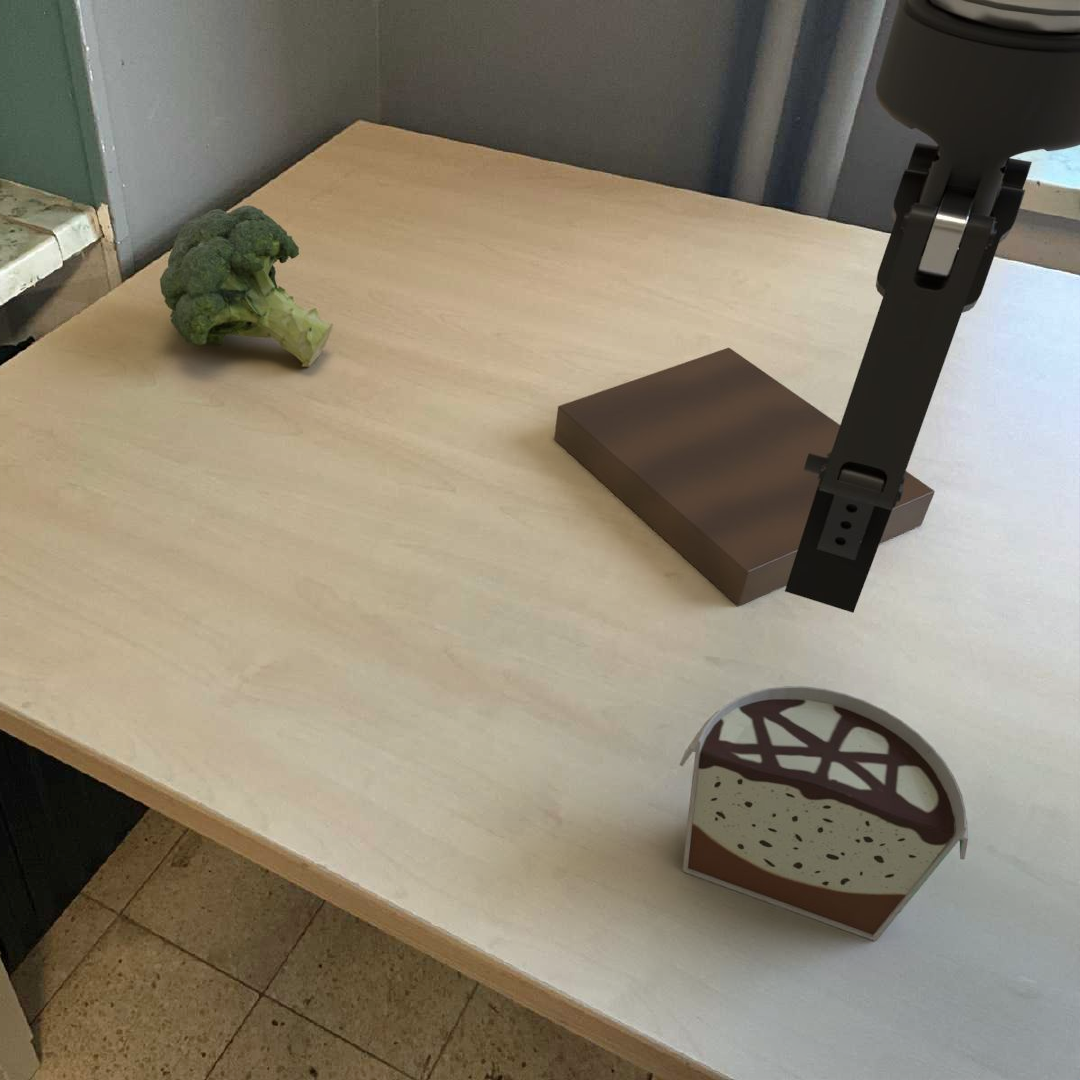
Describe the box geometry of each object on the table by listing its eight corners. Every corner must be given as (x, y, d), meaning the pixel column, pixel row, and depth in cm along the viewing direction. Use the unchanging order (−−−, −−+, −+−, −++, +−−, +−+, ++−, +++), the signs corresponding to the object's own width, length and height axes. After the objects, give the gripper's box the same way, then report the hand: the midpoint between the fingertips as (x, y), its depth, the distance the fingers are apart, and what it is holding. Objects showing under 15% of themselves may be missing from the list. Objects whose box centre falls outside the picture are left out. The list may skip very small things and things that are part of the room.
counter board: (921, 525, 78) (935, 491, 76) (738, 606, 73) (747, 572, 71) (721, 379, 91) (729, 346, 89) (553, 439, 86) (557, 405, 84)
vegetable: (262, 399, 87) (109, 276, 87) (283, 421, 99) (150, 313, 100) (364, 272, 86) (210, 150, 87) (372, 310, 99) (238, 203, 100)
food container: (921, 851, 59) (988, 727, 53) (909, 953, 55) (980, 832, 49) (681, 771, 63) (715, 646, 57) (653, 860, 59) (686, 737, 53)
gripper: (956, -108, 47) (825, 344, 61) (827, 109, 30) (689, 657, 45) (1167, -89, 44) (979, 380, 58) (1149, 161, 28) (893, 727, 42)
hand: (853, 501), depth 51 cm, fingers open, 13 cm apart
